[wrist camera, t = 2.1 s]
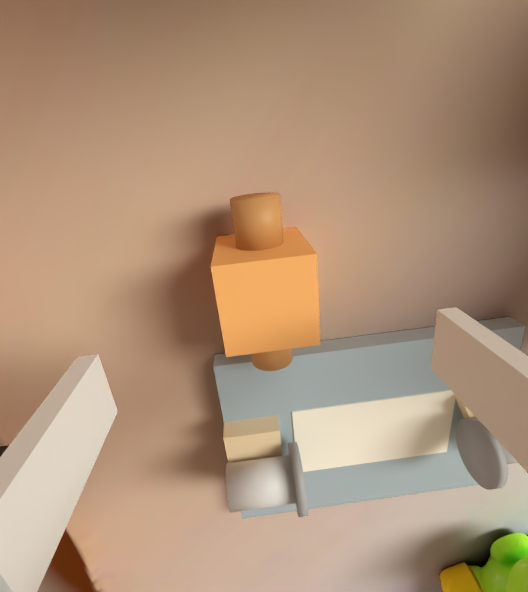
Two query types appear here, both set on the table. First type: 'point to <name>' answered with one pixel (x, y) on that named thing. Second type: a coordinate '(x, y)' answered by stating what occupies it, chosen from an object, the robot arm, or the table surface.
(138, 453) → the table surface
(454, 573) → the turtle toy
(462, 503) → the table surface
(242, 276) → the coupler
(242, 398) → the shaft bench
